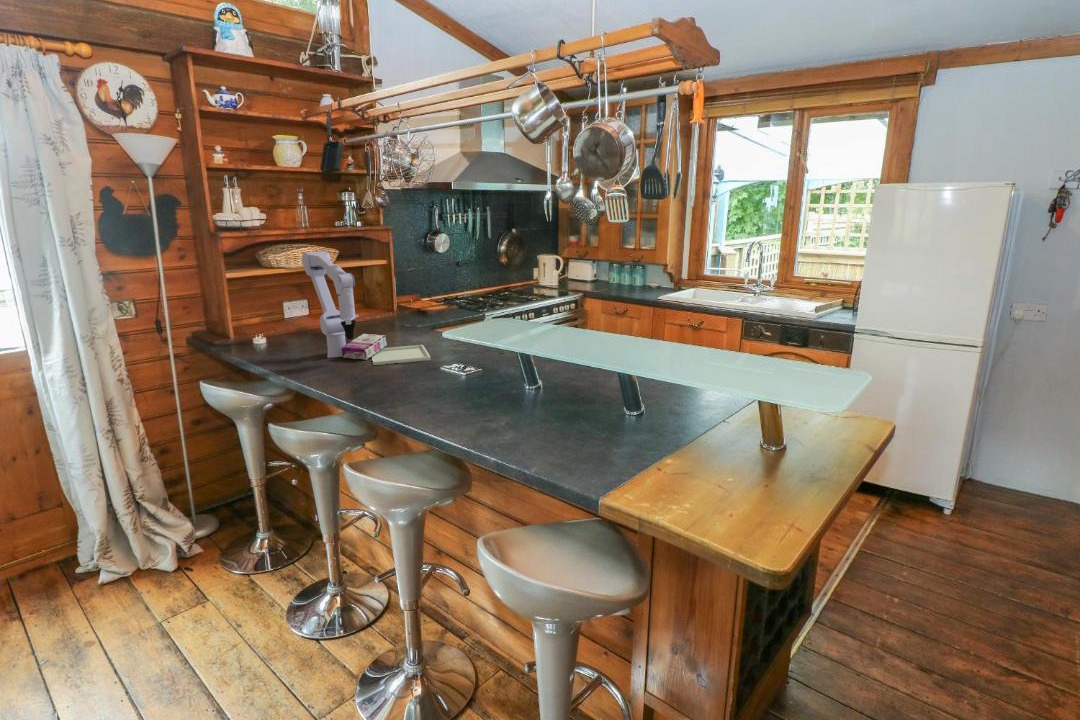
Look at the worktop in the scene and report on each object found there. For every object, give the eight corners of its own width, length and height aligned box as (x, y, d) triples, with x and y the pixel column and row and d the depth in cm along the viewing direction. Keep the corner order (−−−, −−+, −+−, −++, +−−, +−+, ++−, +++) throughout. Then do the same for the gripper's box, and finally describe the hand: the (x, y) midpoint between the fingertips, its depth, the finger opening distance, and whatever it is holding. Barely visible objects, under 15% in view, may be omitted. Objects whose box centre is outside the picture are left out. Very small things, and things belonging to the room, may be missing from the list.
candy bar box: (366, 361, 235) (387, 345, 250) (364, 349, 233) (386, 334, 248) (342, 358, 239) (364, 343, 253) (340, 347, 237) (363, 332, 251)
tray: (370, 352, 247) (370, 349, 247) (423, 348, 254) (422, 344, 254) (373, 365, 227) (373, 362, 227) (430, 360, 234) (430, 356, 234)
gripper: (357, 307, 224) (361, 342, 227) (356, 301, 237) (359, 334, 241) (338, 308, 222) (342, 343, 225) (338, 302, 235) (341, 336, 238)
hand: (350, 339), depth 233 cm, fingers closed
